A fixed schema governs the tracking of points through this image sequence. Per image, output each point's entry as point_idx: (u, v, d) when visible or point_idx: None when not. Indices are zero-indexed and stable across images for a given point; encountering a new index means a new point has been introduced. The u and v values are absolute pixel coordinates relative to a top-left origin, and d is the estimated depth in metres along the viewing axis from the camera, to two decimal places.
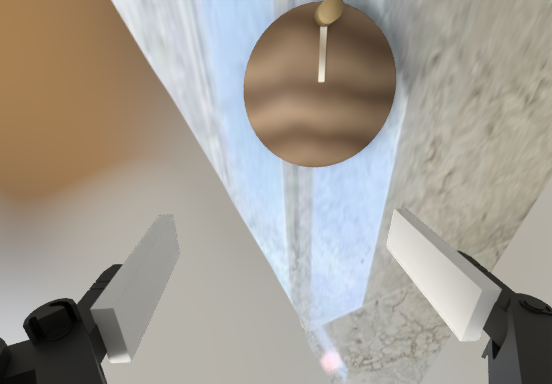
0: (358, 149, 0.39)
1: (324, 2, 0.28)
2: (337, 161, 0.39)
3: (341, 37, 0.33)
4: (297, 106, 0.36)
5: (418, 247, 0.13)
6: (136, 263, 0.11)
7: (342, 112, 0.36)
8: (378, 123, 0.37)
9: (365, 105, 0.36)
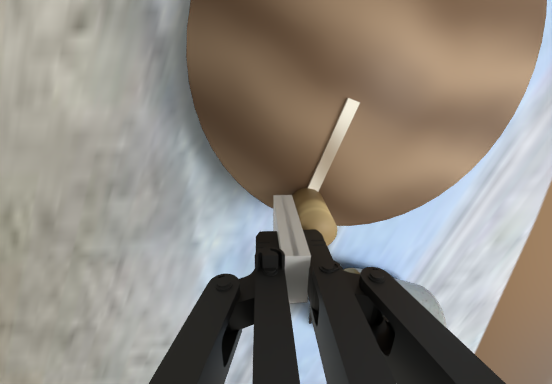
0: None
1: (328, 242, 0.15)
2: None
3: (287, 162, 0.17)
4: (423, 68, 0.15)
5: None
6: (288, 228, 0.13)
7: (333, 4, 0.14)
8: None
9: None
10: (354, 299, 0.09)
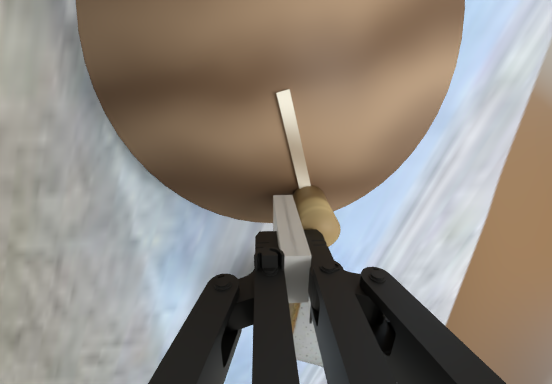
0: None
1: (336, 233, 0.15)
2: None
3: (266, 179, 0.17)
4: (326, 15, 0.14)
5: None
6: (287, 228, 0.13)
7: (205, 29, 0.14)
8: (93, 22, 0.13)
9: (156, 64, 0.14)
10: (355, 299, 0.09)
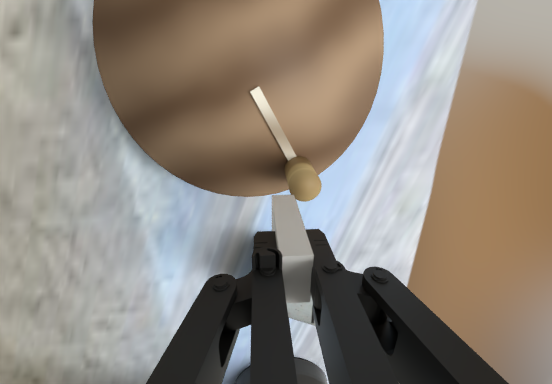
0: (101, 1, 0.17)
1: (319, 185, 0.19)
2: None
3: (261, 159, 0.22)
4: (271, 24, 0.18)
5: None
6: (286, 228, 0.13)
7: (187, 59, 0.19)
8: (112, 77, 0.19)
9: (160, 94, 0.19)
10: (357, 299, 0.09)
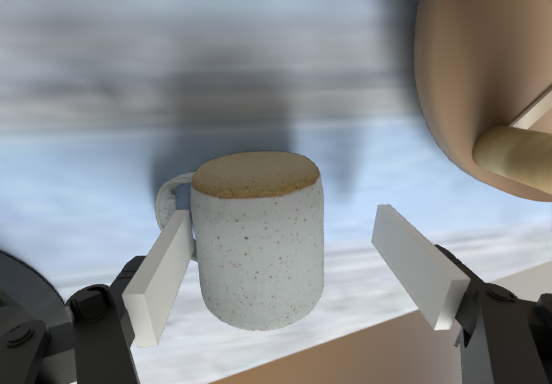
0: None
1: None
2: None
3: (508, 81, 0.13)
4: None
5: (398, 241, 0.13)
6: (159, 254, 0.11)
7: None
8: None
9: None
10: (529, 338, 0.08)
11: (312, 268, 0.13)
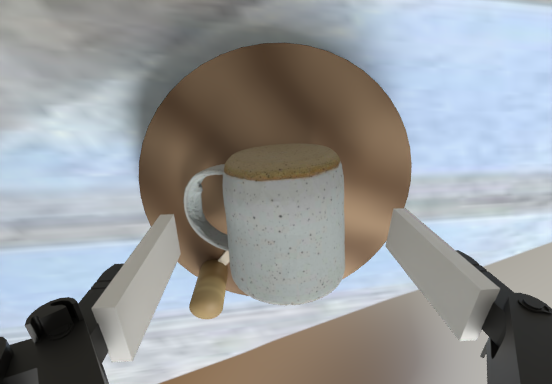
0: (285, 50, 0.16)
1: (213, 316, 0.19)
2: (337, 61, 0.17)
3: None
4: None
5: (417, 247, 0.13)
6: (137, 263, 0.11)
7: None
8: (215, 72, 0.16)
9: (222, 127, 0.18)
10: None
11: (337, 245, 0.14)
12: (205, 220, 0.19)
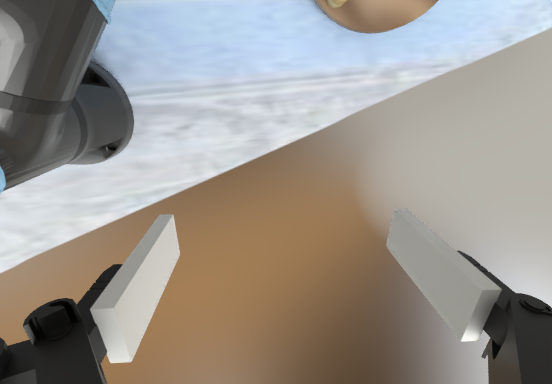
0: None
1: None
2: None
3: None
4: None
5: (418, 247, 0.13)
6: (136, 263, 0.11)
7: None
8: None
9: None
10: None
11: None
12: None
